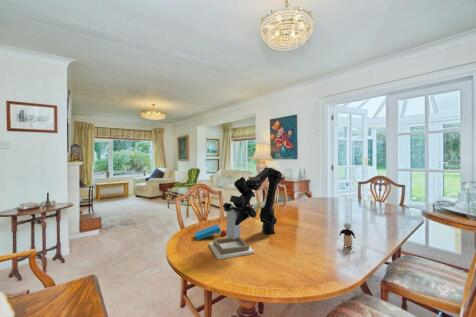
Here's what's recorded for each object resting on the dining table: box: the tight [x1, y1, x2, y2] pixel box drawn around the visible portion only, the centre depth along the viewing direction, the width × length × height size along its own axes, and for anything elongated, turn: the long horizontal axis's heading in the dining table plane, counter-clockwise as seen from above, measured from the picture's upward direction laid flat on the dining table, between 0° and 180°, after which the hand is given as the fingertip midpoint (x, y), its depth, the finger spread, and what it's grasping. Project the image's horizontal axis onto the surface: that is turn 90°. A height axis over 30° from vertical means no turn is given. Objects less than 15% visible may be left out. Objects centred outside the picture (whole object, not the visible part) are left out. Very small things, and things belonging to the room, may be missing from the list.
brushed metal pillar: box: [225, 209, 242, 239], centre depth 113 cm, size 5×5×13 cm
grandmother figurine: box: [338, 222, 357, 248], centre depth 117 cm, size 8×4×13 cm, turn 71°
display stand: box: [208, 236, 255, 260], centre depth 115 cm, size 18×18×3 cm
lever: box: [194, 224, 226, 241], centre depth 132 cm, size 7×7×18 cm
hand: (231, 224), depth 112 cm, fingers closed on brushed metal pillar, 5 cm apart
